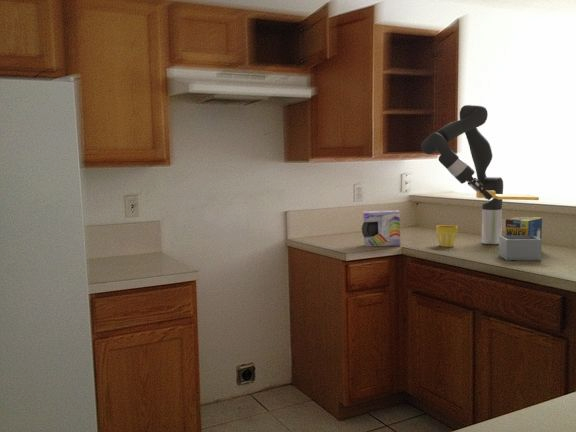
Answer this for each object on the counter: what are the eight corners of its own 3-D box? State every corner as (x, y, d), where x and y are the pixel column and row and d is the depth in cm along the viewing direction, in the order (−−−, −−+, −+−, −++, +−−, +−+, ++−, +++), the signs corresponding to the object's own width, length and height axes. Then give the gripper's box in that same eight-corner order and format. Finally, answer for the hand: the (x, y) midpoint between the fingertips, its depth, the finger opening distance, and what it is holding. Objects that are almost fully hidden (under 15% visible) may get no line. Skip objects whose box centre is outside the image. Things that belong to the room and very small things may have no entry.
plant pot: (457, 244, 277) (457, 224, 276) (458, 247, 267) (458, 227, 266) (436, 243, 280) (436, 224, 279) (435, 247, 270) (435, 227, 269)
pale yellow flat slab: (473, 196, 243) (474, 189, 242) (528, 197, 240) (528, 190, 240) (480, 198, 229) (481, 191, 229) (538, 200, 226) (539, 192, 226)
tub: (498, 255, 243) (499, 235, 242) (532, 255, 242) (532, 235, 241) (506, 261, 232) (506, 239, 231) (541, 260, 230) (541, 239, 229)
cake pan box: (362, 246, 278) (361, 211, 276) (362, 244, 283) (361, 210, 281) (400, 246, 275) (400, 211, 273) (400, 244, 280) (400, 210, 278)
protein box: (504, 253, 250) (505, 219, 248) (519, 248, 260) (519, 216, 259) (527, 255, 242) (528, 220, 241) (541, 251, 253) (542, 217, 251)
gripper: (470, 164, 228) (500, 193, 228) (463, 163, 242) (491, 190, 242) (456, 177, 229) (486, 205, 229) (451, 175, 243) (479, 202, 243)
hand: (489, 197), depth 235 cm, fingers closed on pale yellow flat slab, 4 cm apart
